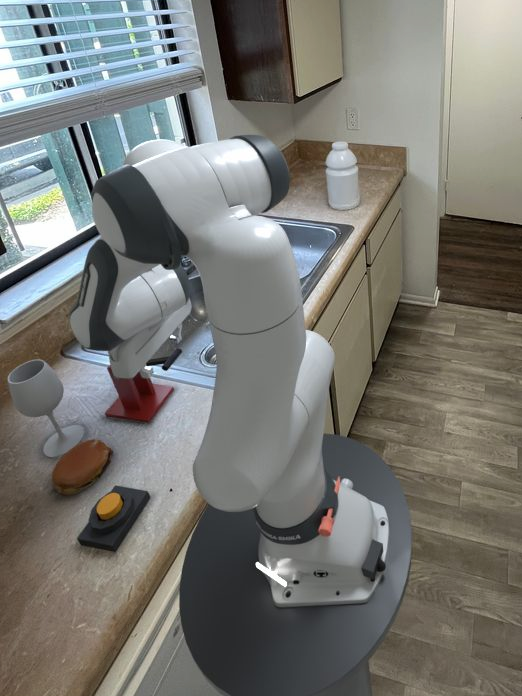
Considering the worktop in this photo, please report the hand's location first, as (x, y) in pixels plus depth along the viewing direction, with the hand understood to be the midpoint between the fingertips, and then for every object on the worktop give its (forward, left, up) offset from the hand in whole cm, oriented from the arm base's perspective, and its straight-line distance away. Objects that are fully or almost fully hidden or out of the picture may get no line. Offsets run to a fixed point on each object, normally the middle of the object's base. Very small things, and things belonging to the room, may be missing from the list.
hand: (163, 357), depth 94 cm
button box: (-3, +23, -16) cm, 28 cm away
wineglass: (+20, +11, -16) cm, 28 cm away
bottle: (-9, -105, -16) cm, 107 cm away
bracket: (+10, 0, -16) cm, 19 cm away
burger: (+10, +16, -16) cm, 25 cm away
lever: (+4, 0, -3) cm, 5 cm away
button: (-3, +23, -12) cm, 26 cm away
